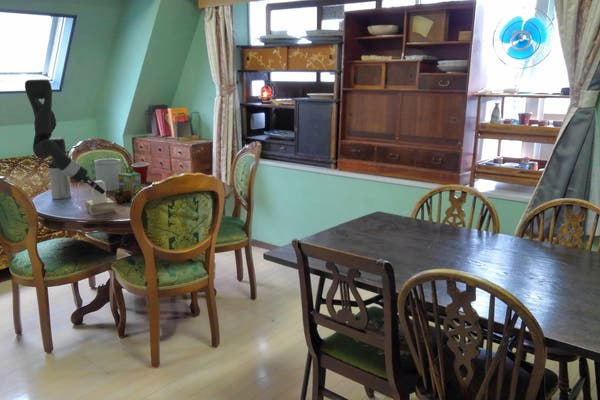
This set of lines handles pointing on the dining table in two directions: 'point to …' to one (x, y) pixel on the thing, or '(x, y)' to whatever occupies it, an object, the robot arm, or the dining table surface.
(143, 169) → the plastic cup
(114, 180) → the utensil holder
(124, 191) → the decorative turtle
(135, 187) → the chalk box
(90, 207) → the block
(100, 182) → the tin
